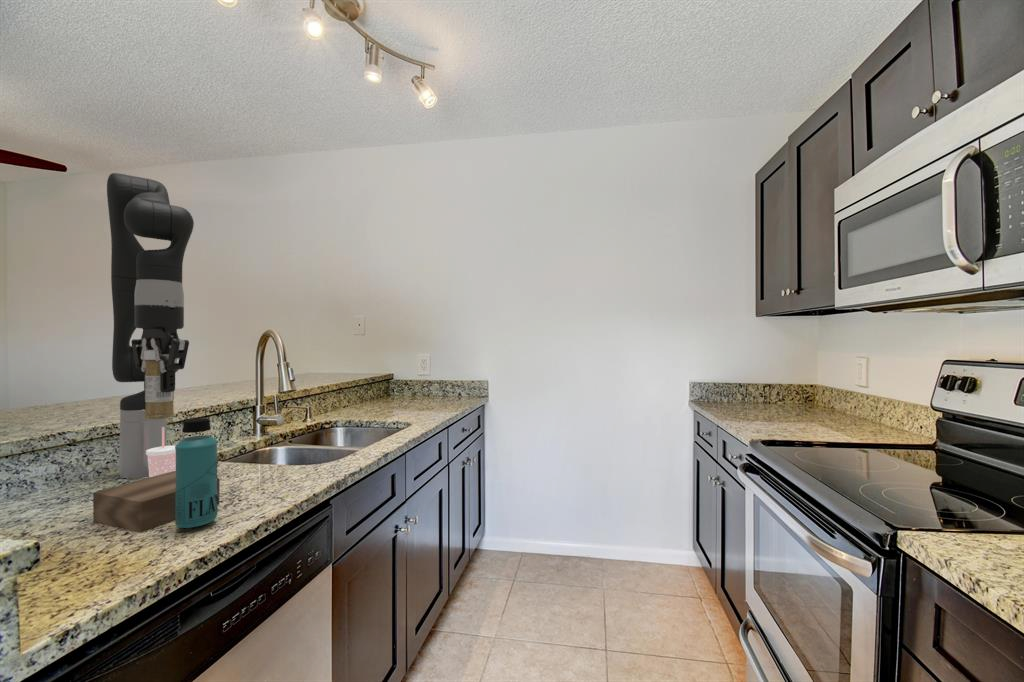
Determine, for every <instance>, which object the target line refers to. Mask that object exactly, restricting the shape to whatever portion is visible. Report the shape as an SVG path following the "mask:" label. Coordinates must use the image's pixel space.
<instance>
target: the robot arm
mask: <svg viewBox="0 0 1024 682" xmlns="http://www.w3.org/2000/svg"><path fill="white" fill-rule="evenodd" d="M106 197H107V207H108V217H109V226H110V238H111V239H110V241H111V259H110V260H111V261H110V263H111V267H110V269H111V271H110V273H111V274H110V275H111V277H110V278H111V280H110V281H111V283H110V284H111V296H112V297H111V298H112V308H113V309H112V313H113V331H112V332H113V334H112V335H113V336H112V337H113V338H112V357H111V361H112V362H111V369H112V370H111V371H112V374H113V375H112V376H113V378H114V380H115V381H116V382H118V383H142V382H143V390H142V391H139V392H137V393H133V394H130V395H127V396H124V397H122V398H121V400H120V402H119V439H118V444H119V445H118V450H119V451H118V456H119V457H118V474H119V477H120V479H123V478H126V480H132V478H135V479H143V478H149V477H148V476H149V468H148V455H146V450H148V449H151V448H155V447H161V446H162V427H164V446H168V437H167V436H168V430H167V429H168V427H167V426H168V418H163V419H146V418H145V415H146V402H145V375H146V366H145V365H146V362H145V361H146V360H145V359H144V352H145V351H146V350H154V351H155V359H156V361H157V362H159V364H160V369H161V372H162V373H160V390H161V392H173V391H174V392H175V390H176V373H178V372H179V370H184V369H185V364H186V360H187V356H188V352H189V351H188V350H189V345H190V341H189V340H188V339H181V338H179V334H178V330H182V329H183V328H184V326H185V319H184V318H185V314H184V313H185V292H184V288H183V286H184V285H183V263H184V262H183V261H184V258H185V252H186V250H187V246H188V244H189V241H190V239H191V236H192V233H193V230H194V225H195V222H194V218H193V215H192V214H191V212H190V211H189V210H188V209H186V208H184V207H181V206H177V205H172V204H171V203H170V202H171V201H170V197H169V193H168V190H167V188H166V187H165V185H164V183H162V182H160V181H158V180H154V179H151V178H145V177H141V176H135V175H129V174H124V173H117V172H113V173H112V172H111V173H110V174H109V176H108V177H107V180H106ZM136 236H137V237H141V238H147V239H154V240H163V241H168V242H170V244H169V246H168V247H165V248H161V249H145V248H144V247H143V246H142V245H141V244H140V242H139V241H138V239H137V237H136ZM136 329H142V334H141V336H140V337H141V338H139V339H138V338H137V339H134V338H133V339H132V336H133V334H134V333H135V331H136ZM130 343H131V345H130ZM162 354H169V356H163V355H162ZM177 360H178V362H177ZM166 361H168V362H167V365H166ZM142 477H143V478H142Z"/></svg>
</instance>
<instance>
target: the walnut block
mask: <svg viewBox="0 0 1024 682" xmlns="http://www.w3.org/2000/svg"><path fill="white" fill-rule="evenodd" d="M220 480H221V479H220V478H219V477H217V485H218V487H217V499H218V505H217V506H219V505H220V494H221V493H220V490H221V489H220V486H221V485H220V484H221V483H220V482H221V481H220ZM175 492H176V471H172V472H169V473H165V474H161V475H157V476H154V477H150V478H149V477H145V478H141V479H139V480H135V481H132V482H128V483H123V484H121V485H117V486H112V487H108V488H104V489H102V490H97V491H95V492H93V495H92V497H93V498H92V499H93V500H92V501H93V504H92V505H93V510H92V511H93V512H92V514H93V515H92V516H93V517H92V518H93V519H92V520H93V521H92V522H93V524H99V525H102V526H107V527H112V528H116V527H118V528H117V529H121V528H122V529H121V530H127V531H132V532H136V533H141V534H142V533H144V532H147V531H150V530H152V529H156V528H157V527H161V526H163V525H166V524H169V523H171V522H175Z"/></svg>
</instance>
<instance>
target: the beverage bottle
mask: <svg viewBox="0 0 1024 682" xmlns="http://www.w3.org/2000/svg"><path fill="white" fill-rule="evenodd" d="M211 429H212V428H211V421H210V418H206V417H200V418H199V417H198V418H191V419H185V420H183V424H182V430H181V431H182V433H185V434H186V433H187V434H191V433H192V434H193V433H203V432H207V431H210V430H211ZM175 449H176V492H175V521H174V524H175V526H176V527H177V528H181V529H184V528H185V529H189V528H195V527H200V526H204V525H206V524H209V523H211V522H214V521H215V520H217V517H218V506H219V505H218V499H217V487H218V485H217V478H219V477H218V472H219V468H218V464H219V461H218V440H217V439H215V438H214V437H213V436H211V435H205V434H204V435H195V436H188V437H184V438H182V439H181V440H180V441H179V442H178V443H177V444H176V445H175Z"/></svg>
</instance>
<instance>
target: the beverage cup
mask: <svg viewBox="0 0 1024 682" xmlns="http://www.w3.org/2000/svg"><path fill="white" fill-rule="evenodd" d="M175 446H176V445H174V444H173V445H167V446H164V427H162V446H161V447H155V448H151V449H148V450H146V455H148V468H149V477H148V478H150V477H154V476H157V475H161V474H165V473H169V472H172V471H176V449H175Z"/></svg>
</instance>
